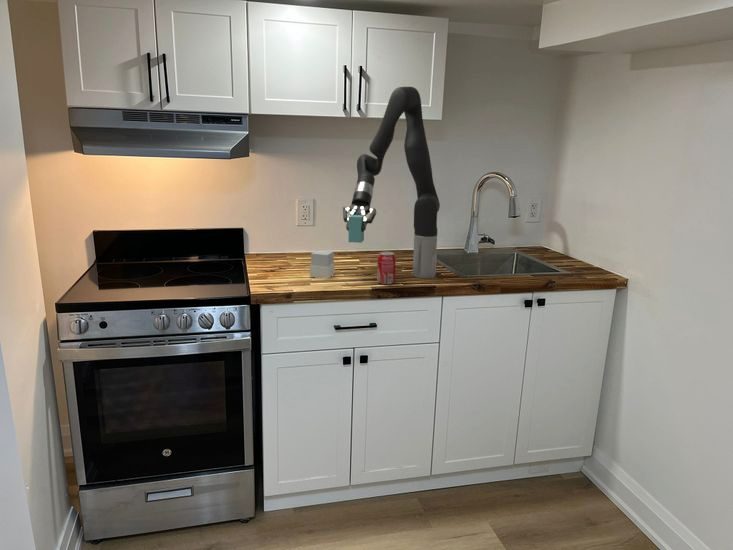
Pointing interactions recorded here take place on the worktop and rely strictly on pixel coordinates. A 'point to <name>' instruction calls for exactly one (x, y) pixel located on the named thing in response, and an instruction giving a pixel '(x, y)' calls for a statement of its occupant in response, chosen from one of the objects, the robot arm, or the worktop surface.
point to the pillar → (356, 228)
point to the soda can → (386, 267)
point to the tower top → (322, 258)
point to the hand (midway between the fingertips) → (355, 230)
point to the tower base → (322, 271)
